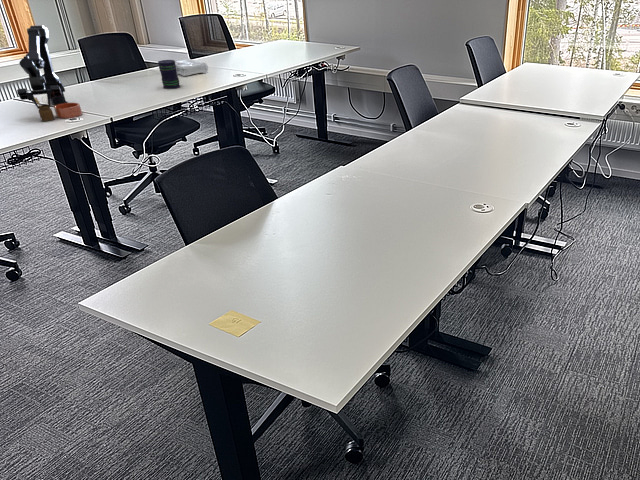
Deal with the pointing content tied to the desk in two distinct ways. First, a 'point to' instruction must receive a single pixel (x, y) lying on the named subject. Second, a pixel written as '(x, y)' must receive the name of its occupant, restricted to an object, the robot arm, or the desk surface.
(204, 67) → the white plastic package
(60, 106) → the pot
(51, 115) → the utensil holder
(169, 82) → the storage jar
